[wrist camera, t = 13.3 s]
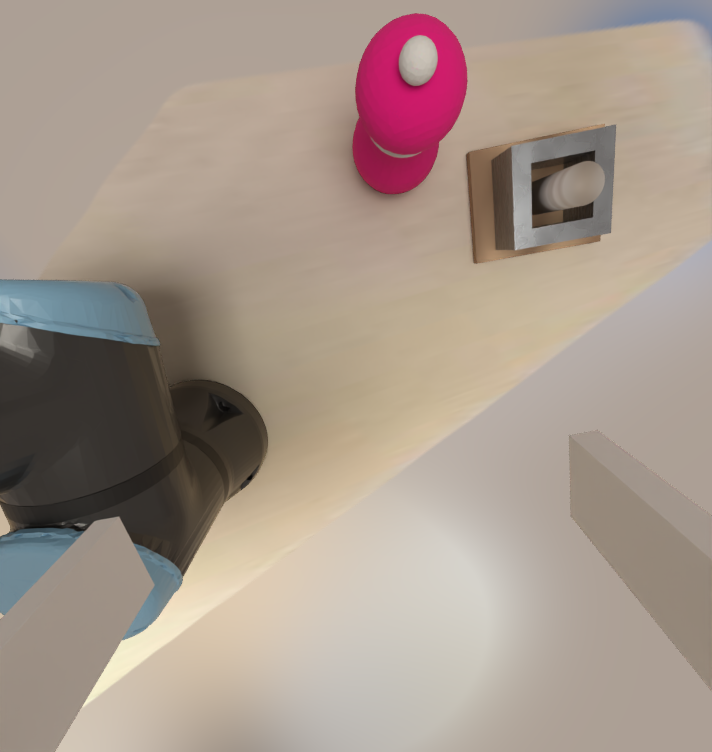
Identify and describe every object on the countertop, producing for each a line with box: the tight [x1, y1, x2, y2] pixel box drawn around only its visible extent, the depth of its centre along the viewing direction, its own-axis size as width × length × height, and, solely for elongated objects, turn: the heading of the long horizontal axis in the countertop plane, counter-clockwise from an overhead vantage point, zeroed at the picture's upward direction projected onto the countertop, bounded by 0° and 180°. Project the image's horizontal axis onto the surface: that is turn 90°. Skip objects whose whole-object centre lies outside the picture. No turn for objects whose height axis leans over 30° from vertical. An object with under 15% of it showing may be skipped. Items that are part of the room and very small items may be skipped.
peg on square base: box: [467, 124, 605, 263], centre depth 31 cm, size 12×10×9 cm
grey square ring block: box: [491, 125, 616, 250], centre depth 32 cm, size 8×8×5 cm
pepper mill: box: [353, 13, 467, 194], centre depth 25 cm, size 7×7×20 cm
